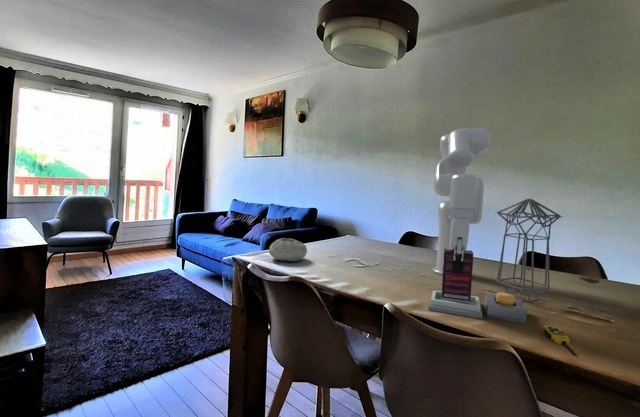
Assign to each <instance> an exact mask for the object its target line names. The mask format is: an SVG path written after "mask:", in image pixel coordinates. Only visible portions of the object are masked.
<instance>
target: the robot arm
mask: <svg viewBox="0 0 640 417" xmlns="http://www.w3.org/2000/svg"><path fill="white" fill-rule="evenodd" d="M489 132H490V131H488V130H487V129H485V128H457V129H455V130H452V131H451V132H450V133H448V134H444V135H442V136H441V137H440V138H439V150H440V154H441V158H442V159H441V160H440V161H438V164H436V167H435V170H434V177H433V178H434V179H433V189H434V192H435V194H436V195H437V196H441V197H447V198H449V200H444V201H442V202H441V203H439V205H438V207H437V208H438V210H437V212H438V213H437V214H438V215H437V216H438V238H437V240H438V241H437V251H436V252H437V253H436V266H434V267H432V272H433V273H435V274H438V275H442V276H443V259H444V249H445V248H446V249H450V250H451V249H454V260H453V261H452V273H456V274H463V265H464V261H463V254H464V252H465V251H466V250H467V248H468V243H469V242H468V241H469V234H470V225H477V224H480V222H481V221H482V216H483V203H484V191H485V190H484V189H485V188H484V182H483V179H482V178H481V177H479V176H477V175H475V174H469V173H468V174H466V170H467V169H466V168H467V167H469V166H470V165H471V164H472V163H473V161H474V156H481V155H483V154H484V153H486V152H488V150H489V148H490V146H491V145H490V144H491V135H490V133H489ZM455 249H456V250H455ZM461 250H462V251H461ZM461 253H462V254H461ZM455 257H456V258H455Z"/></svg>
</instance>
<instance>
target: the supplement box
mask: <svg viewBox="0 0 640 417" xmlns="http://www.w3.org/2000/svg"><path fill="white" fill-rule="evenodd" d="M455 250H456V249H455ZM461 251H462V250H461ZM461 254H462V253H461ZM455 258H456V257H455ZM453 260H454V249H451V250H450V249H446V248H445V249H444V259H443V275H442V278H441V291H442V300H448V301H455V302H463V303H470V300H471V296H472V284H473V269H474V268H473V265H474V252H473V251H472V250H467V249H466V251H465V252H464V254H463V261H464V265H463V274H456V273H452V261H453Z"/></svg>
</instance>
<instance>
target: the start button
mask: <svg viewBox="0 0 640 417" xmlns="http://www.w3.org/2000/svg"><path fill="white" fill-rule="evenodd" d="M495 296H496V303H499V304H505V305H512V306H514V303H515V297H516V296H515V295H513V293H505V292H496V294H495Z"/></svg>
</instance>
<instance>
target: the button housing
mask: <svg viewBox="0 0 640 417" xmlns="http://www.w3.org/2000/svg"><path fill="white" fill-rule="evenodd" d="M484 296H485V297H484V310H485V314H486V318H490V319H495V320H501V321H506V322H507V321H508V322H514V323H519V324H527V318H528V317H527V316H528V315H527V314H528V309H527V307H526V306H525V303H524V301H523V300H521V299H522V298H520V299H517V298H515V303H514V306H512V305H505V304H499V303H496V294H495V295H494V294H493V295H492V294H487V293H485V295H484Z"/></svg>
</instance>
